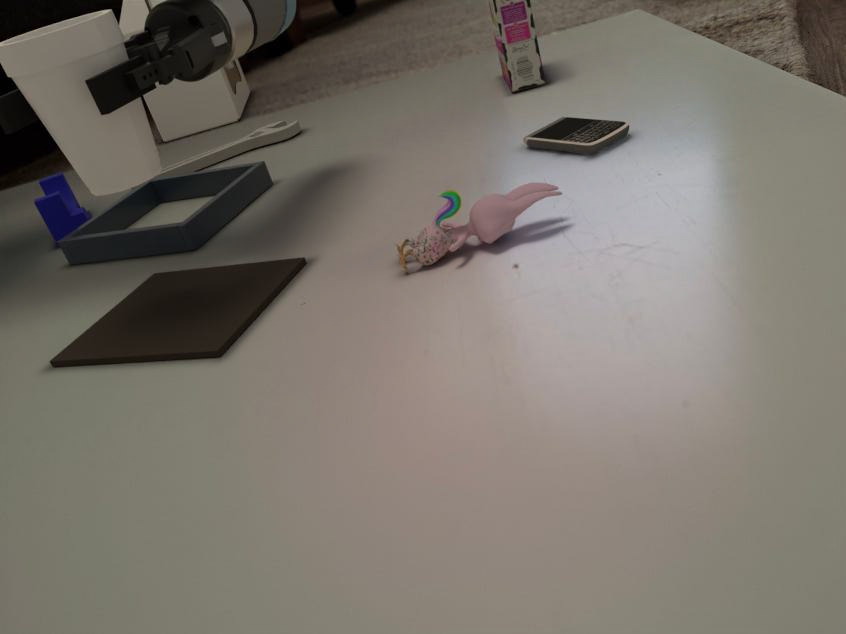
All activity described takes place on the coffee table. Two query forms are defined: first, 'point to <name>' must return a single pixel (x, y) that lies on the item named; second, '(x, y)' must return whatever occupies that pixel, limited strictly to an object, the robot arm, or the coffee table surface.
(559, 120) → the cell phone
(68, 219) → the cable clip
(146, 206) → the tray
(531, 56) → the candy bar box
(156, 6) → the robot arm
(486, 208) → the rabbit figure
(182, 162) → the adjustable wrench
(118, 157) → the foam cup
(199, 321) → the mat
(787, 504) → the coffee table surface
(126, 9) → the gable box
